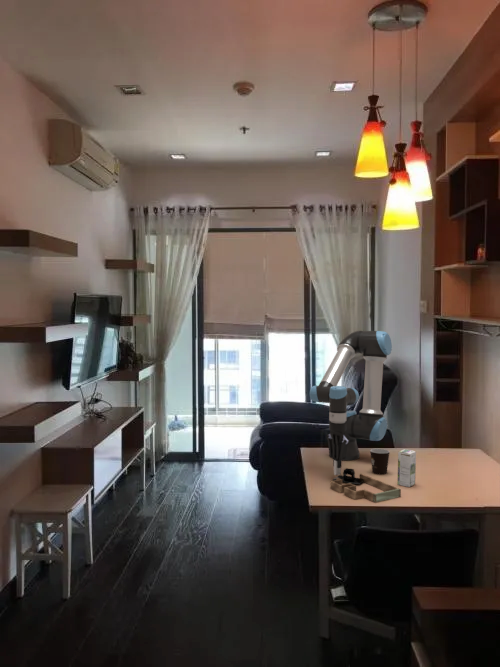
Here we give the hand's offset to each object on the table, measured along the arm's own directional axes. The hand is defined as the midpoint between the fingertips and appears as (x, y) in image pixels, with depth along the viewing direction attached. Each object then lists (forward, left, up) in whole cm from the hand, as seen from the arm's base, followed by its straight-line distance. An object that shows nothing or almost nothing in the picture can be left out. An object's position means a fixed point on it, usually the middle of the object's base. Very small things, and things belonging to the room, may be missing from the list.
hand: (337, 474), depth 238 cm
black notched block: (+6, +3, -4) cm, 7 cm away
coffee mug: (0, +24, -2) cm, 24 cm away
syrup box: (+20, +21, -2) cm, 30 cm away
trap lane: (+18, +1, -2) cm, 19 cm away
